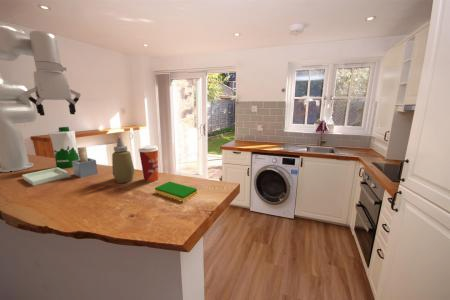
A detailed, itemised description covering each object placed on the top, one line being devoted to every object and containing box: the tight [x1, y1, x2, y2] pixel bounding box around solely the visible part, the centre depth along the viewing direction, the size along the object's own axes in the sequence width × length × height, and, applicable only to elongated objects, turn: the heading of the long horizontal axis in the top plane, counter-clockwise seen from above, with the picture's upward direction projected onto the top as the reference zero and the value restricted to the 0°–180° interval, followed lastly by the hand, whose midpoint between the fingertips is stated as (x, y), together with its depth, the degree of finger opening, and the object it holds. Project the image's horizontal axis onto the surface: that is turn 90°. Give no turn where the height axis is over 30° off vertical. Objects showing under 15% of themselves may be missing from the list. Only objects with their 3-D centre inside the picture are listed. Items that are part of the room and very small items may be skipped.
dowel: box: [77, 146, 89, 163], centre depth 87 cm, size 3×3×12 cm
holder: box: [72, 157, 99, 179], centre depth 88 cm, size 7×7×7 cm
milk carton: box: [48, 126, 79, 169], centre depth 99 cm, size 9×9×20 cm
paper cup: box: [138, 144, 159, 183], centre depth 83 cm, size 8×8×14 cm
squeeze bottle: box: [111, 137, 135, 184], centre depth 81 cm, size 8×8×18 cm
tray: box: [21, 166, 72, 187], centre depth 84 cm, size 14×12×3 cm
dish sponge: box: [154, 181, 198, 202], centre depth 70 cm, size 7×14×2 cm, turn 58°
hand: (58, 114), depth 79 cm, fingers open, 9 cm apart
